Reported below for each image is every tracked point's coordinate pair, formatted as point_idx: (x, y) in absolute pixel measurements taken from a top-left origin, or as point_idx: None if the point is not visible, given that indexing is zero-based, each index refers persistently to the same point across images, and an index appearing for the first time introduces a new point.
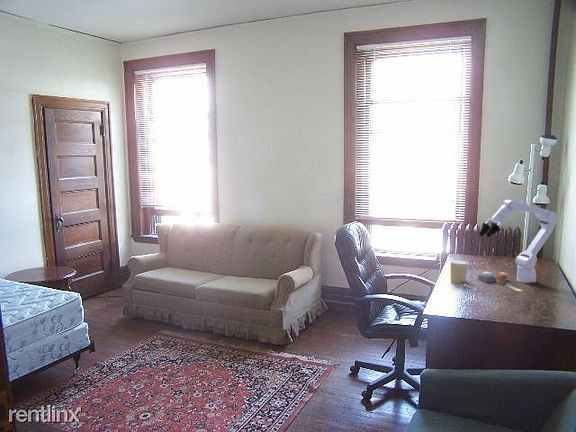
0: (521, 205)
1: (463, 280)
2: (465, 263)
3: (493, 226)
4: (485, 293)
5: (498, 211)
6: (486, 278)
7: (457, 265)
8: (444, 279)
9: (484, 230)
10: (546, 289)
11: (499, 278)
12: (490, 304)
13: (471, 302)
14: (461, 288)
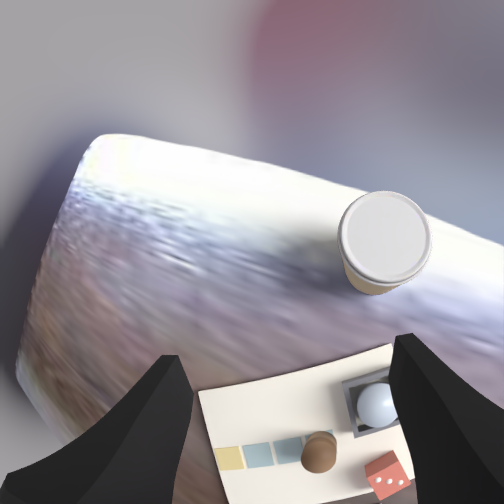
0: None
1: (347, 276)
2: (365, 265)
3: (44, 474)
4: (217, 325)
5: None
6: (342, 385)
7: (342, 216)
8: None
9: (429, 442)
10: None
11: (318, 438)
12: (117, 289)
13: (135, 239)
14: (282, 253)
